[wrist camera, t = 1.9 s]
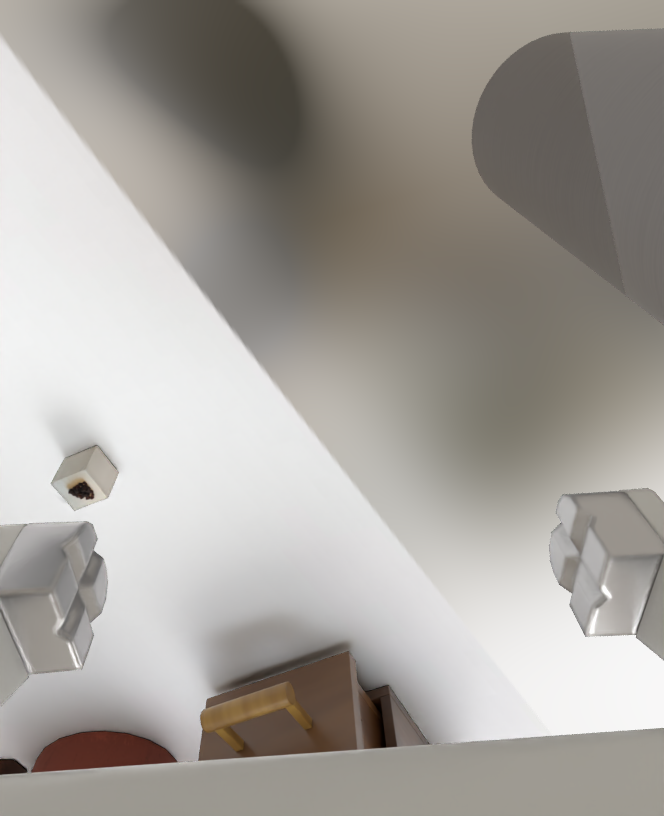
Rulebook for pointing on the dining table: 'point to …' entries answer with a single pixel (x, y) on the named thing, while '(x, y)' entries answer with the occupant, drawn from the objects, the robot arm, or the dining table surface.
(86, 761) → the potted plant
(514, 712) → the dining table surface
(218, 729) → the drawer
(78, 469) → the cube with dark pebbles
